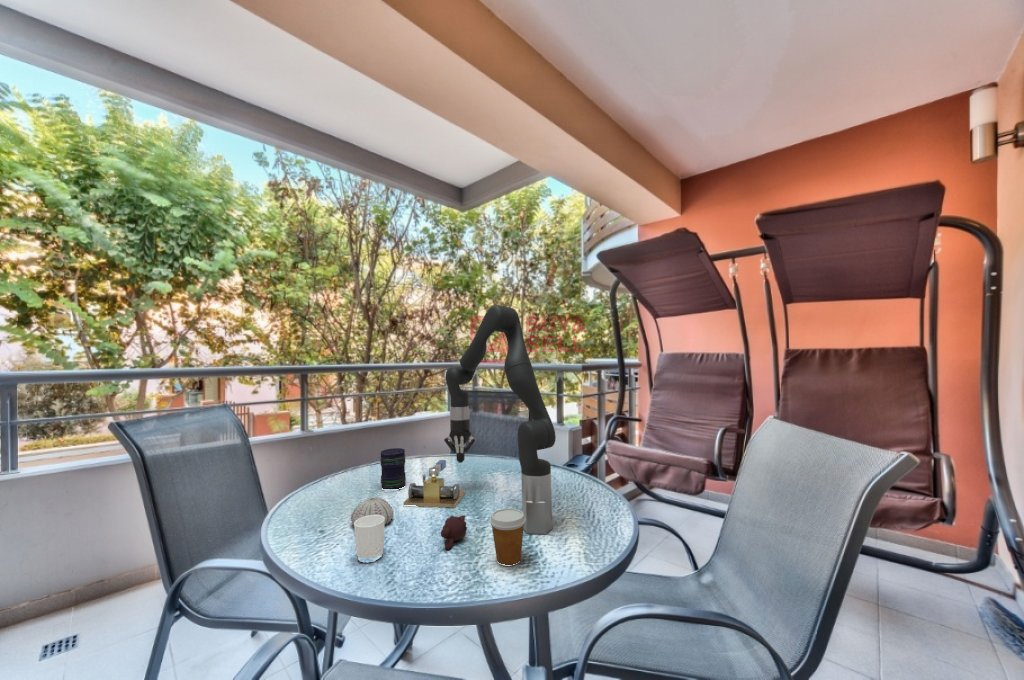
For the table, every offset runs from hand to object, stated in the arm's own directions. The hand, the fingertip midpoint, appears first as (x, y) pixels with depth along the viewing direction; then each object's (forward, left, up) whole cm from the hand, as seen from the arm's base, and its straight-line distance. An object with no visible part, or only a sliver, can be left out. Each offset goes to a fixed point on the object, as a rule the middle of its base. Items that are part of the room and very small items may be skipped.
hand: (460, 462), depth 159 cm
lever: (-4, +8, -3) cm, 9 cm away
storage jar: (+4, +30, -12) cm, 33 cm away
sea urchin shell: (-29, +22, -12) cm, 38 cm away
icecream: (-37, -8, -12) cm, 40 cm away
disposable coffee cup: (-48, -26, -12) cm, 56 cm away
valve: (-8, +8, -12) cm, 16 cm away
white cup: (-50, +12, -12) cm, 53 cm away
